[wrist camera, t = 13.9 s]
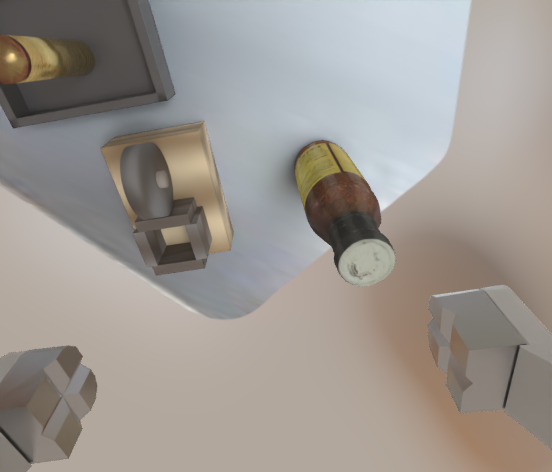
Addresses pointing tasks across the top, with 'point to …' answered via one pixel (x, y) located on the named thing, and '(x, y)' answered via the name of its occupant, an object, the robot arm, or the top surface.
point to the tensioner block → (171, 195)
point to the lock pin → (42, 58)
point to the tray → (107, 51)
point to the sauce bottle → (344, 213)
